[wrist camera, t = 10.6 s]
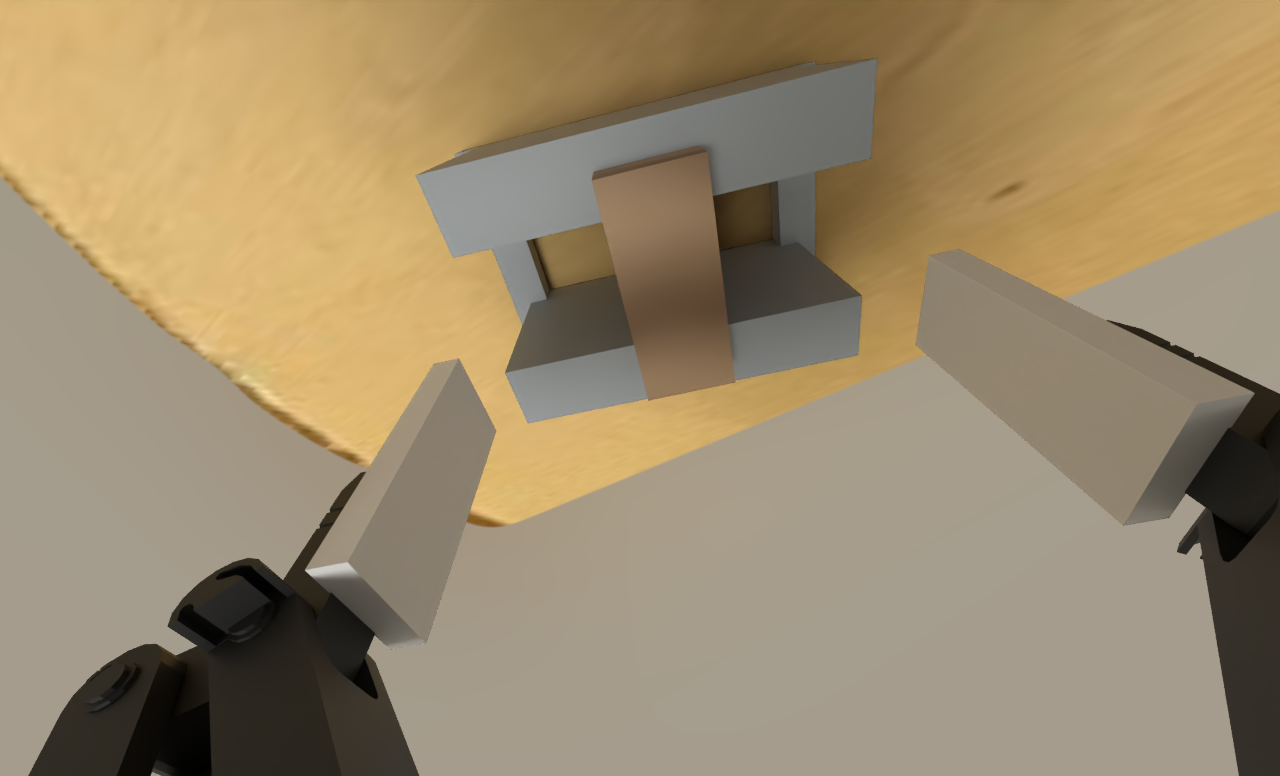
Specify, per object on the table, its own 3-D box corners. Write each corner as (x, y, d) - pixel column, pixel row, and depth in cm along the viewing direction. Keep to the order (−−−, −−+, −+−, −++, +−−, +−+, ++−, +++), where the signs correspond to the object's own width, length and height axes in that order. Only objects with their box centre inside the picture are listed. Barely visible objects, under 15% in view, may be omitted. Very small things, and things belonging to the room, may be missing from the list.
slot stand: (462, 150, 24) (388, 182, 16) (804, 63, 23) (908, 50, 15) (535, 338, 30) (508, 427, 22) (806, 278, 29) (880, 350, 21)
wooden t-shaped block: (596, 147, 23) (588, 181, 15) (674, 127, 23) (710, 150, 14) (635, 308, 28) (646, 401, 20) (700, 294, 28) (737, 381, 19)
